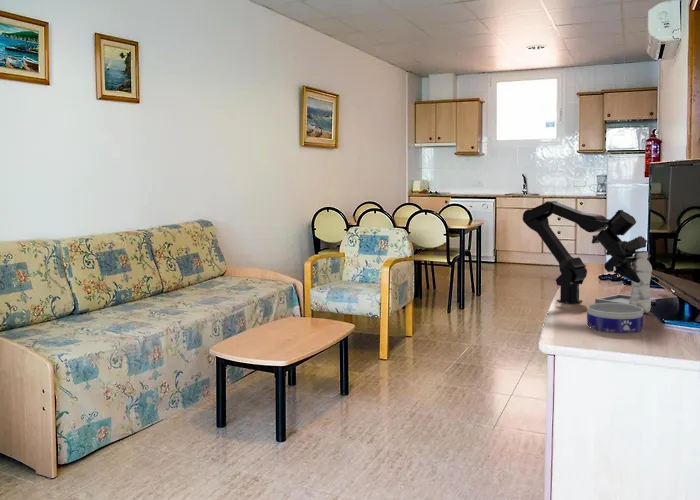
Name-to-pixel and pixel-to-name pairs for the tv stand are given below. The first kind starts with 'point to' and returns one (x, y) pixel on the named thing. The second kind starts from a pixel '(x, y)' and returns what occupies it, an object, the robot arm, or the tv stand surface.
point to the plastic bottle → (641, 281)
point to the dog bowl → (615, 317)
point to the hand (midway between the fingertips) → (644, 281)
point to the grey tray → (616, 299)
